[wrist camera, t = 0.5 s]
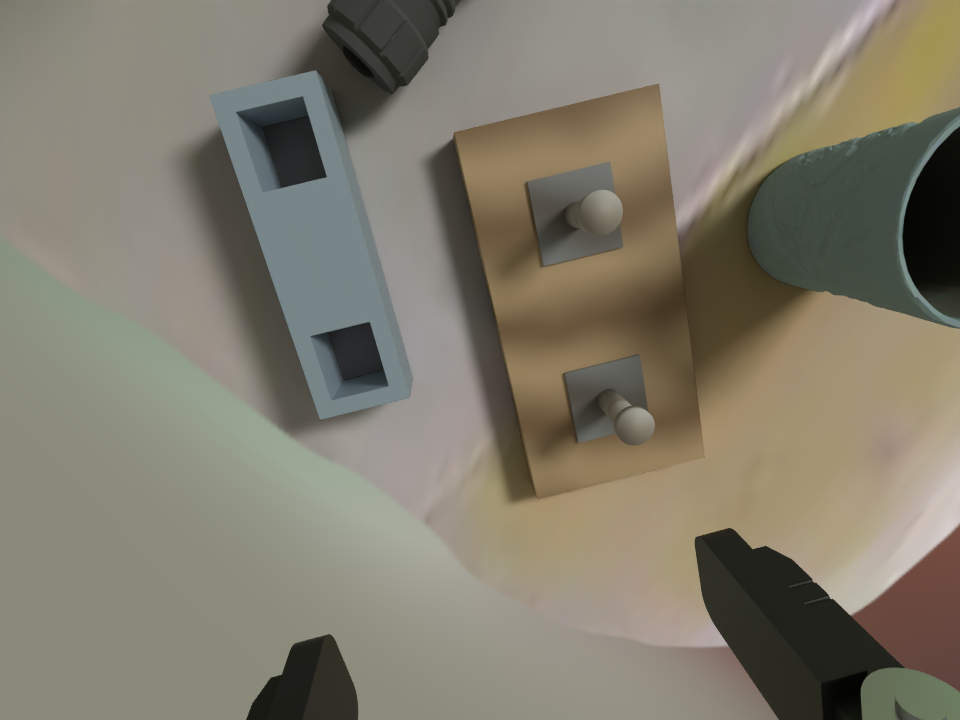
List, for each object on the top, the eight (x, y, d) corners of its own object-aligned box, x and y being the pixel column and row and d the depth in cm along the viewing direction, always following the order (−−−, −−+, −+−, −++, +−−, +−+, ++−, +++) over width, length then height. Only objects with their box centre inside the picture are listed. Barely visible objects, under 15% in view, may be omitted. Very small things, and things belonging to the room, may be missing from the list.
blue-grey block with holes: (239, 112, 29) (209, 95, 26) (331, 90, 29) (315, 70, 26) (333, 398, 34) (320, 419, 30) (412, 378, 34) (409, 397, 30)
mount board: (453, 138, 31) (457, 113, 24) (645, 92, 31) (703, 54, 24) (532, 485, 37) (553, 542, 30) (691, 445, 37) (747, 493, 30)
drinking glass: (739, 146, 32) (909, 101, 21) (891, 130, 33) (1141, 76, 21) (736, 304, 35) (884, 344, 23) (876, 287, 35) (1091, 316, 24)
